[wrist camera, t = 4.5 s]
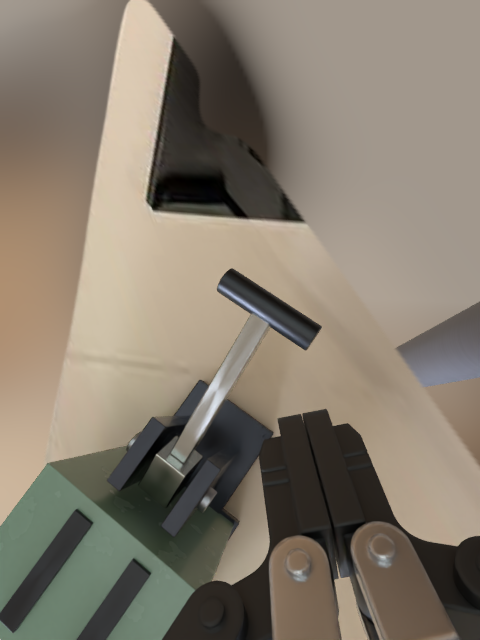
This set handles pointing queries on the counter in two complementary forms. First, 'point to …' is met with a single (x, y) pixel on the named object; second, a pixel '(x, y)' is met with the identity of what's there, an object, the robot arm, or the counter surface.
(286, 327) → the lever
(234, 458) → the lever bracket
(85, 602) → the toaster
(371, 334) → the counter surface
